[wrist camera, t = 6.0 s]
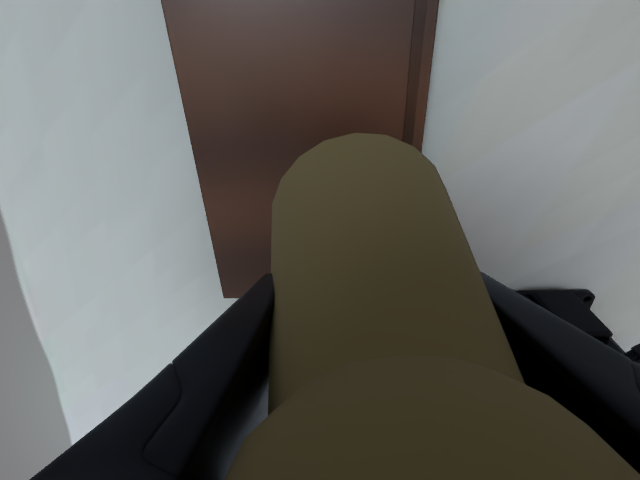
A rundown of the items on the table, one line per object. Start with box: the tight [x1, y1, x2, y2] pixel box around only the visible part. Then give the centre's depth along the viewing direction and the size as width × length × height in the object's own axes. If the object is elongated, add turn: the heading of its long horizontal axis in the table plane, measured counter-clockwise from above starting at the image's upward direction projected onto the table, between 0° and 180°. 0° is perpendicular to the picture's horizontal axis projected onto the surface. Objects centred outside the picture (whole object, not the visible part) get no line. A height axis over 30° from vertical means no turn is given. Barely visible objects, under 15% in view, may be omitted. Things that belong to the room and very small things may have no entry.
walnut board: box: [161, 0, 439, 298], centre depth 19 cm, size 18×12×2 cm, turn 2°
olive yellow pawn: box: [224, 133, 640, 480], centre depth 7 cm, size 6×6×11 cm
